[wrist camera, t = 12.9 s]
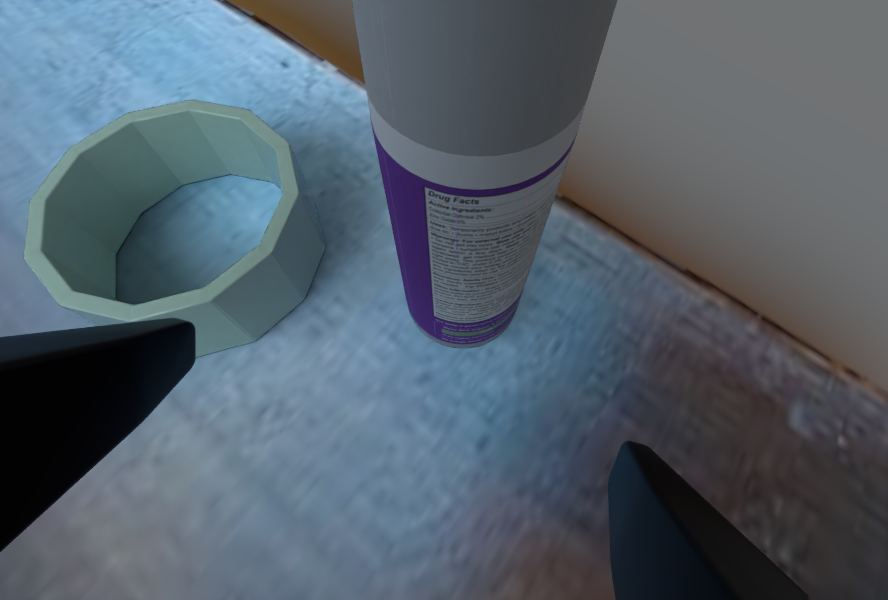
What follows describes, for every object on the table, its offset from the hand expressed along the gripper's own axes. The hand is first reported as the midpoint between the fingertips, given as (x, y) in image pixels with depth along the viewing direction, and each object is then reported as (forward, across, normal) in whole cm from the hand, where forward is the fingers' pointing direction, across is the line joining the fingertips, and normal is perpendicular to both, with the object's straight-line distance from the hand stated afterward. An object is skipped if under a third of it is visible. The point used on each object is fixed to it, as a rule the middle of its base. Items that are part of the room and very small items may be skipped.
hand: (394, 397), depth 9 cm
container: (+11, 0, +2) cm, 11 cm away
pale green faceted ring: (+10, +11, +2) cm, 15 cm away
